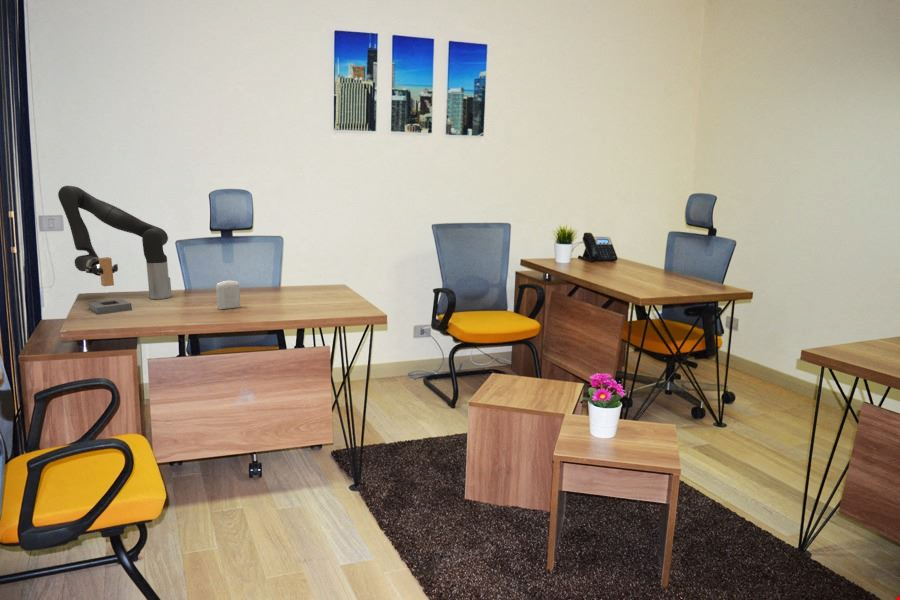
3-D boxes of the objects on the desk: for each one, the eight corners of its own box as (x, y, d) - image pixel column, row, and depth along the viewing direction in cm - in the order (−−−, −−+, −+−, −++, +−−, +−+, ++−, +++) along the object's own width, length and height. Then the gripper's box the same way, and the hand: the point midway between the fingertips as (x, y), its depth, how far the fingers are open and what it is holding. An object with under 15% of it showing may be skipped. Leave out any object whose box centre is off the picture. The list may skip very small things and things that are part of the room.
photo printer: (239, 305, 326) (237, 278, 323) (242, 307, 322) (240, 280, 320) (216, 308, 320) (214, 281, 318) (218, 310, 317) (216, 282, 314)
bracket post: (111, 283, 320) (108, 257, 318) (114, 285, 317) (111, 258, 314) (101, 285, 318) (98, 258, 315) (104, 286, 314) (101, 259, 312)
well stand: (122, 305, 329) (121, 298, 328) (131, 309, 319) (131, 303, 318) (89, 309, 320) (88, 302, 320) (97, 314, 310) (97, 307, 309)
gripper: (79, 259, 321) (89, 264, 308) (112, 256, 330) (124, 261, 317) (80, 276, 323) (91, 281, 310) (114, 272, 332) (126, 277, 319)
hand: (108, 271), depth 314 cm, fingers closed on bracket post, 4 cm apart
